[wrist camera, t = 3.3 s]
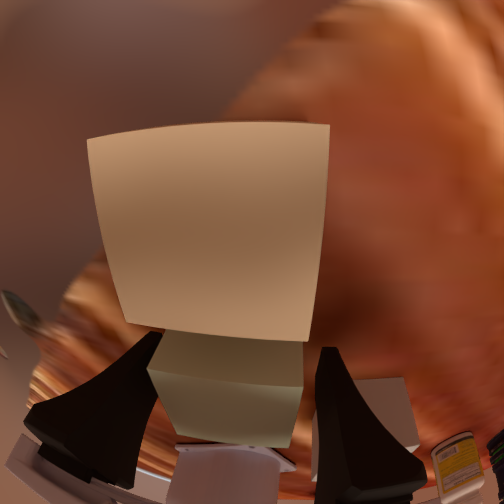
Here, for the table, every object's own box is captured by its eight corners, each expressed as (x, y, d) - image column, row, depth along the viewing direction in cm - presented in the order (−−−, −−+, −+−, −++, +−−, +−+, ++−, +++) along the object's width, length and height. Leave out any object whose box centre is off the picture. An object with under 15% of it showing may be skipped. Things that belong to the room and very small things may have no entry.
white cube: (378, 416, 16) (386, 474, 12) (312, 419, 17) (311, 481, 12) (402, 375, 14) (420, 444, 10) (325, 379, 15) (328, 455, 10)
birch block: (302, 250, 11) (307, 341, 7) (181, 245, 12) (126, 322, 7) (308, 121, 9) (329, 125, 4) (171, 124, 9) (86, 139, 5)
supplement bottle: (459, 446, 20) (471, 508, 11) (423, 457, 21) (432, 524, 12) (480, 425, 18) (498, 494, 9) (442, 438, 18) (456, 515, 10)
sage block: (292, 367, 14) (288, 448, 10) (202, 359, 15) (177, 434, 10) (301, 292, 12) (303, 387, 8) (189, 285, 13) (146, 368, 8)
